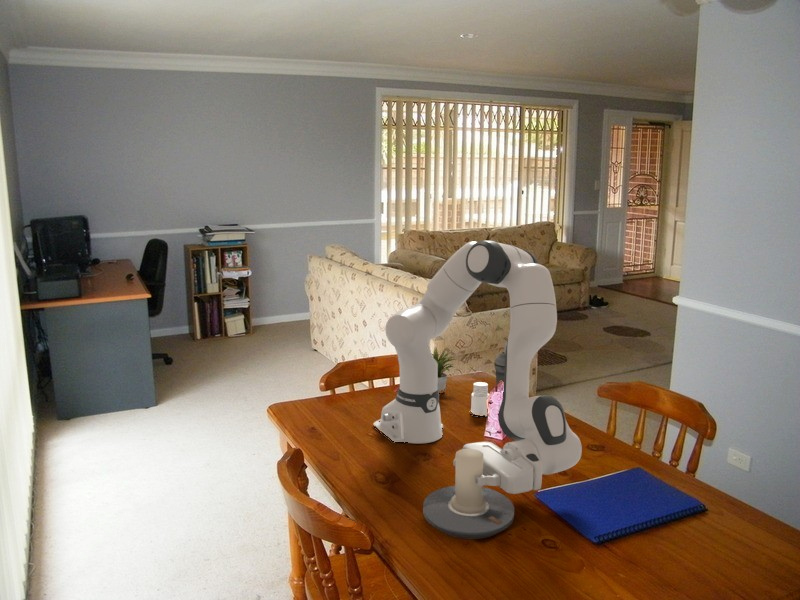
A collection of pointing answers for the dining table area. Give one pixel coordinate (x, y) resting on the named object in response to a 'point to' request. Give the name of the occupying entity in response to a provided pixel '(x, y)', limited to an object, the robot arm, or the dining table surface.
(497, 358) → the beverage cup
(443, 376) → the house plant
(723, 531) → the dining table surface
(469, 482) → the white flanged cylinder
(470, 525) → the turntable
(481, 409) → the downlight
